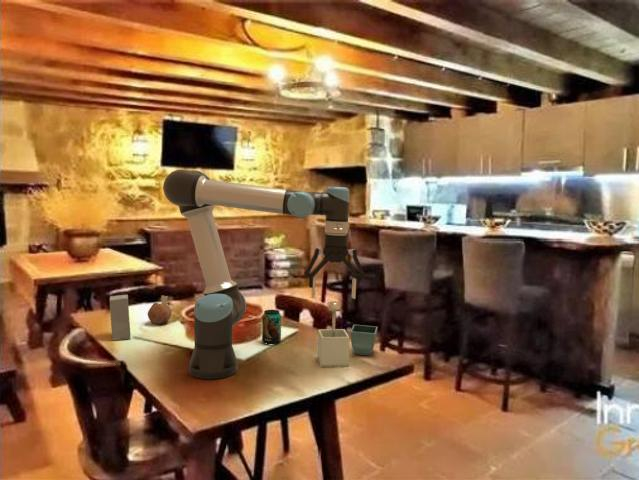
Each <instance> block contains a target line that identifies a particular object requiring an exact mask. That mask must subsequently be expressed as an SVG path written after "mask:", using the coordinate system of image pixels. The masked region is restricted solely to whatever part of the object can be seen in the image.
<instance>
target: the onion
mask: <svg viewBox="0 0 639 480" xmlns="http://www.w3.org/2000/svg"><path fill="white" fill-rule="evenodd" d="M170 307H171V306H168V304H167V305H166V304H162V303H159V302H153V304H152V305H151V306H150V307H149V309H148V311H147V318H148V320H149V322H151V324H154V325H160V326H162V325H165V324H166V323H168V322H169V320H170V319H171V317H172V309H171V308H170Z"/></svg>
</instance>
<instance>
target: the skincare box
mask: <svg viewBox="0 0 639 480" xmlns="http://www.w3.org/2000/svg"><path fill="white" fill-rule="evenodd" d="M109 311H110V312H109V313H110V325H111V337H112V338H111V339H112V341H121V340H122V341H123V340H124V341H125V340H131V325H130V324H131V322H130V311H129V295H128V294H119V295H112V296H111V295H110V296H109Z"/></svg>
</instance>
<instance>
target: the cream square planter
mask: <svg viewBox="0 0 639 480" xmlns="http://www.w3.org/2000/svg"><path fill="white" fill-rule="evenodd" d="M350 340H351V336H350V335H349V334H348V332H347V331H346V329H345V328H344V329H343V328H340V329H339V328H335V337H332V328H331V329H329V328H328V329H327V328H326V329H325V328H324V329H318V330H317V357H316V358H317V360H318V363H319V366H320V368H349V366H350V365H349V363H350Z"/></svg>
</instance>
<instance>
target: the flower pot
mask: <svg viewBox="0 0 639 480" xmlns="http://www.w3.org/2000/svg"><path fill="white" fill-rule="evenodd" d="M378 328H379V327H378V326H374V325H373V326H372V325H361V324H353V325H352V328H351V330H350V342H351V347H352V350H353V352H354V353H355V355H357V356H358V355H360V356H361V355H362V356H371V354H372V352H373V350H374V349H375V344H376V340H377V335H378V334H377V333H378Z"/></svg>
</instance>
